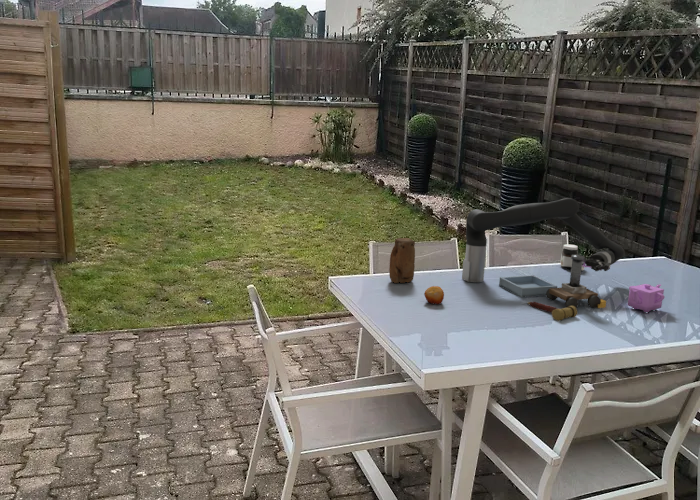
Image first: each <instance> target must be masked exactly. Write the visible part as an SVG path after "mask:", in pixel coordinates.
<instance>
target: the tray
mask: <svg viewBox="0 0 700 500" xmlns="http://www.w3.org/2000/svg"><path fill="white" fill-rule="evenodd" d="M498 287H500V288H502V289H504V290H506V291H508V292H510V293H512V294H514V295H516V296H518V297H520V298H534V297H545V296H546V292H547V290H548V289H550V288H558V285H556V284H555V283H551V282H549V281H547V280H545V279H543V278H540V277H539V276H536V275H533V274H528V275H513V276H501V277H499V284H498Z"/></svg>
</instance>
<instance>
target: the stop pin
mask: <svg viewBox="0 0 700 500" xmlns="http://www.w3.org/2000/svg"><path fill="white" fill-rule="evenodd" d="M571 259H572V267H571V270H570V277H569V282H568V283H569V286H571V287H579V285H580V284H581V276H582V271H581V269H582V261H583V260H584V259H585V256H584V255H581V254H578V255H571Z"/></svg>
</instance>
